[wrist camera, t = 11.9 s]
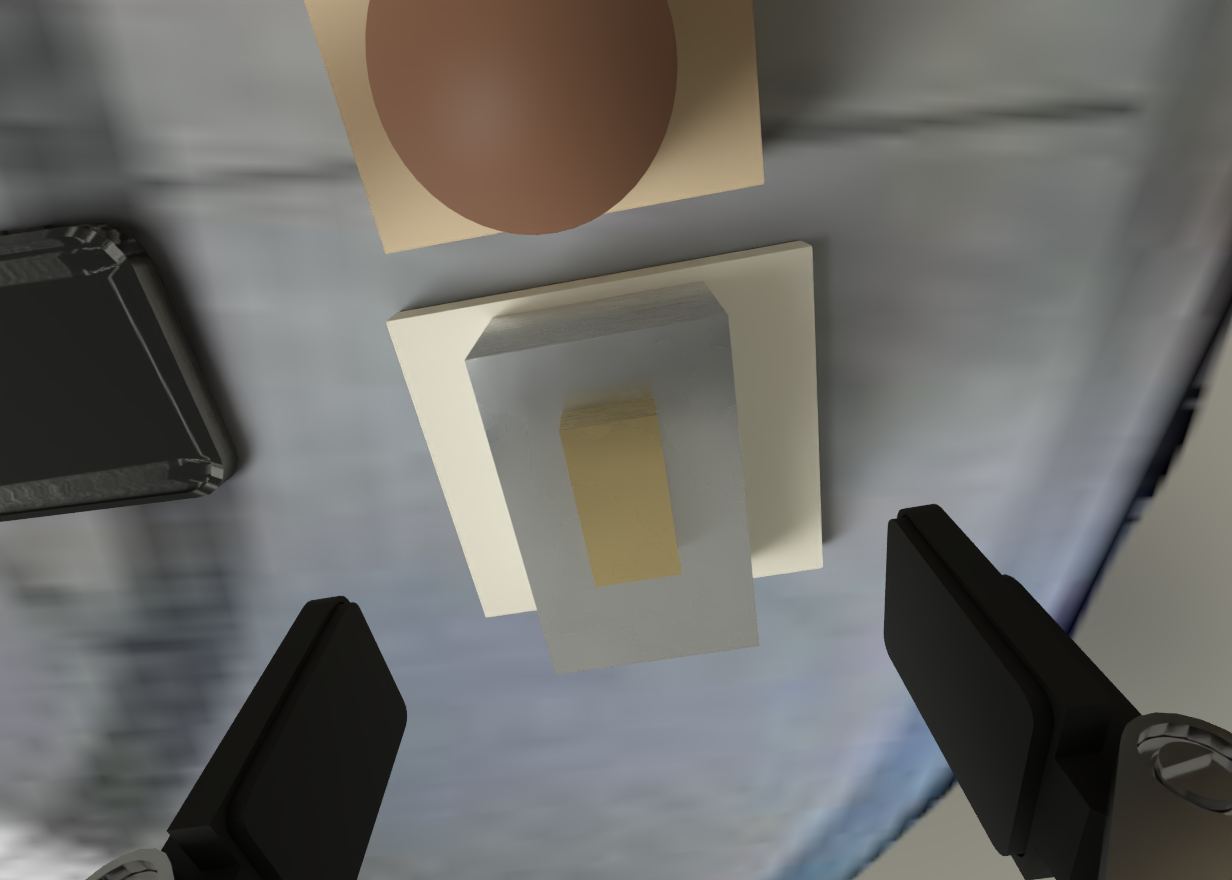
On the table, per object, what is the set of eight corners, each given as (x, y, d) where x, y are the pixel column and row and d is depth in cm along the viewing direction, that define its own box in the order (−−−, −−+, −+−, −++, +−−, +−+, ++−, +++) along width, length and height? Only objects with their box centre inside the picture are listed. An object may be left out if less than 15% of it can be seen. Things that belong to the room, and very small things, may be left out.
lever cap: (492, 317, 16) (453, 376, 12) (703, 280, 16) (737, 327, 12) (563, 590, 20) (553, 705, 16) (733, 564, 20) (768, 674, 15)
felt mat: (397, 312, 17) (385, 321, 16) (800, 240, 16) (812, 245, 15) (490, 597, 21) (485, 617, 20) (813, 549, 21) (822, 567, 20)
